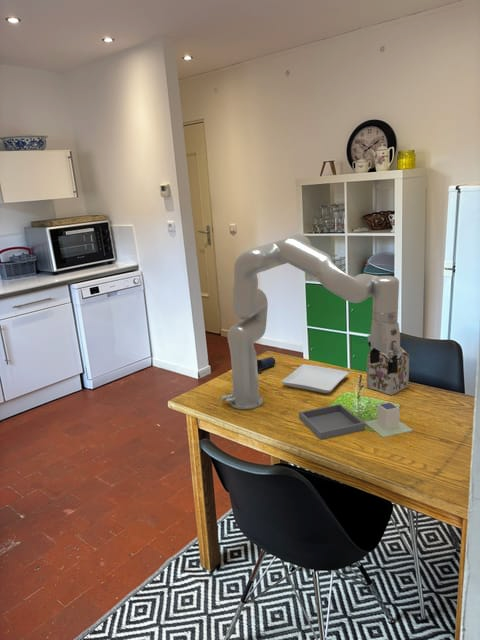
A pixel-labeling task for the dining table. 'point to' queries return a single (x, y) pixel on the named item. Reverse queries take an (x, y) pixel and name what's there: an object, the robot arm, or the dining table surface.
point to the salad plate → (315, 378)
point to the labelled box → (388, 416)
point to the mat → (383, 433)
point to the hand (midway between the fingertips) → (383, 367)
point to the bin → (331, 421)
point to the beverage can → (265, 363)
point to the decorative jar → (383, 380)
